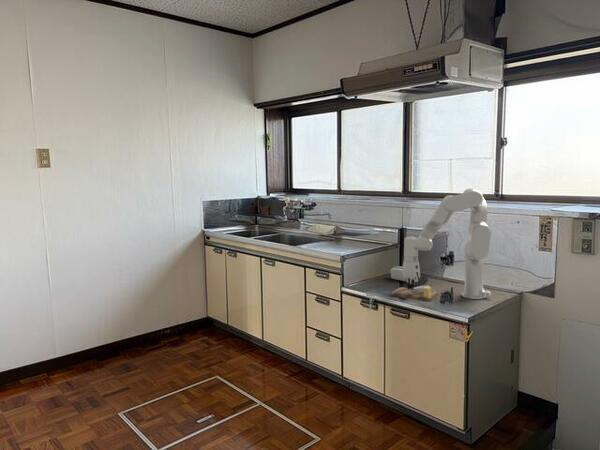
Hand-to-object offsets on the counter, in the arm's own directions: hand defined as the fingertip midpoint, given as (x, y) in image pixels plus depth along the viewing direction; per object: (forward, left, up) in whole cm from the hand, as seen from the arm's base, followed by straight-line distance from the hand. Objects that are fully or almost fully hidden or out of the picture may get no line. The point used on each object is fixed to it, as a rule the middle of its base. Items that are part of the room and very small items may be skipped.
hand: (410, 290), depth 260 cm
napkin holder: (+17, -29, -4) cm, 34 cm away
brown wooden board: (-2, -2, -3) cm, 4 cm away
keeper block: (-10, +1, -2) cm, 10 cm away
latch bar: (-4, -2, -1) cm, 5 cm away
